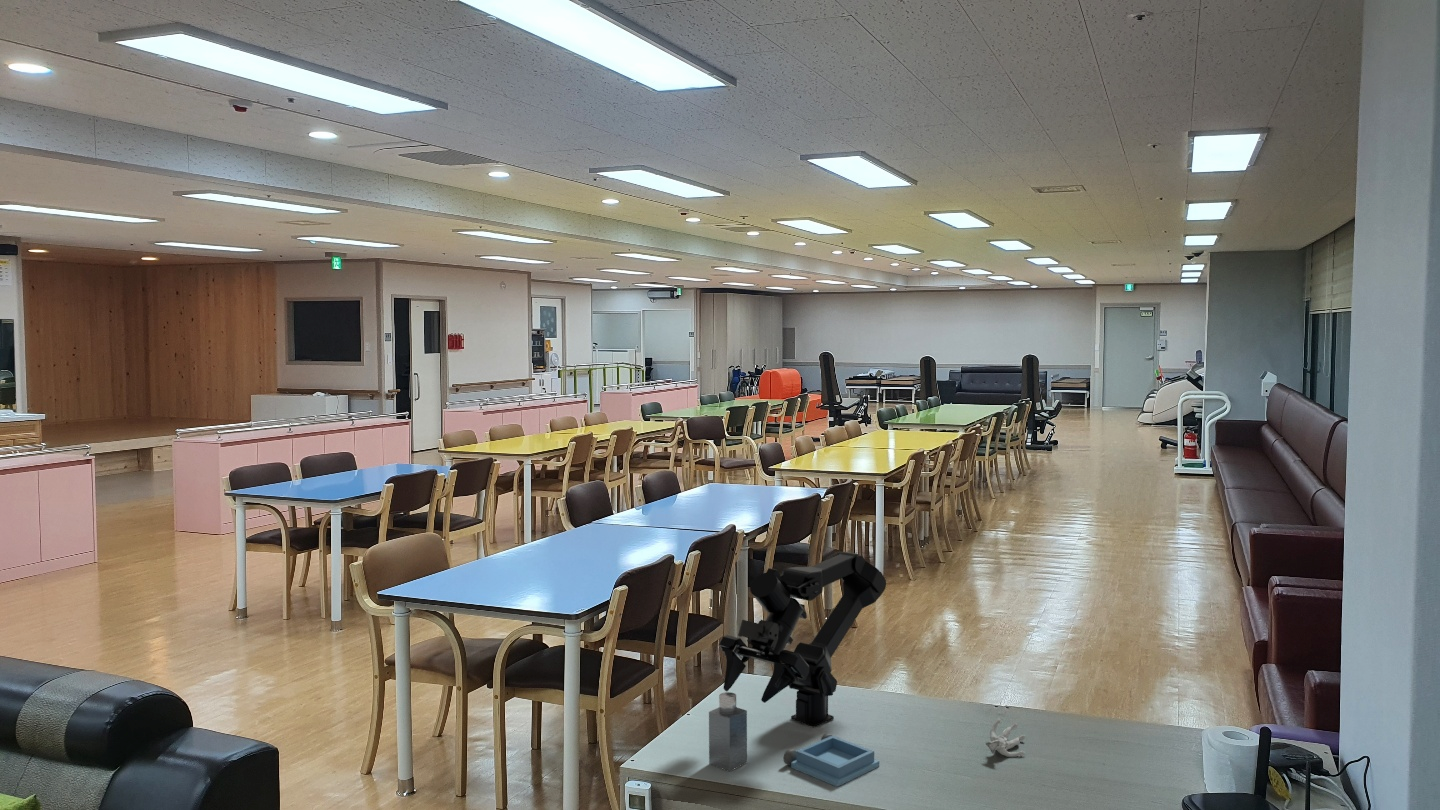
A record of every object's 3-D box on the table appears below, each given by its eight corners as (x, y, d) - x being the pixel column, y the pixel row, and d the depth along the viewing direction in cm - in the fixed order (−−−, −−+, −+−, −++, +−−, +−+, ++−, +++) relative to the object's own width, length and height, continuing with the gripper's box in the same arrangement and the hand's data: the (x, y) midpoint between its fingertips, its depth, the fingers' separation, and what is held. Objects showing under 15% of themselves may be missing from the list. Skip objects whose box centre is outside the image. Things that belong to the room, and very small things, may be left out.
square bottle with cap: (726, 755, 197) (726, 688, 196) (747, 762, 194) (746, 694, 193) (709, 764, 194) (708, 696, 193) (729, 771, 190) (729, 702, 189)
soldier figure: (1036, 750, 201) (1021, 753, 191) (1016, 764, 202) (1000, 768, 192) (1010, 715, 205) (995, 716, 195) (991, 729, 206) (975, 731, 196)
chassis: (830, 745, 202) (830, 730, 201) (881, 765, 193) (881, 749, 192) (783, 766, 192) (783, 750, 192) (834, 787, 184) (834, 771, 183)
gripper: (724, 594, 205) (686, 663, 198) (800, 611, 193) (763, 685, 186) (749, 624, 212) (714, 692, 204) (824, 643, 200) (790, 715, 192)
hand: (743, 695), depth 197 cm, fingers open, 9 cm apart
